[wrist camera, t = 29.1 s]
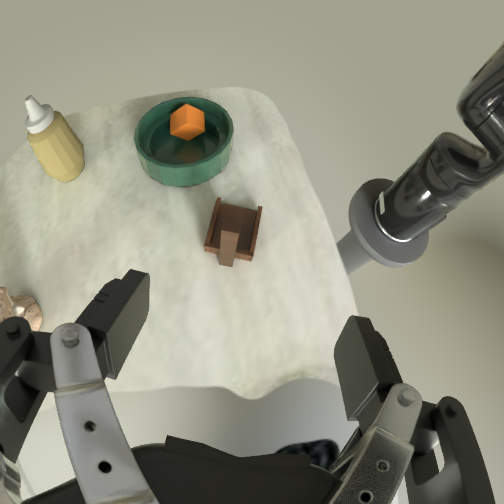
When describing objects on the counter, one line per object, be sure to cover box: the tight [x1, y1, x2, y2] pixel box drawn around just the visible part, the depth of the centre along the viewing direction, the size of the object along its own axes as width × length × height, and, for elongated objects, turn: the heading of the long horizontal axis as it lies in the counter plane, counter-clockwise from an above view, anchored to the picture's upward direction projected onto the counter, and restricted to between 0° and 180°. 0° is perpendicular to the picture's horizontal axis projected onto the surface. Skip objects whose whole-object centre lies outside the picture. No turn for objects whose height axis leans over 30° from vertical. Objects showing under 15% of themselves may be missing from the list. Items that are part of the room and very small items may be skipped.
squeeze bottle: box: [25, 95, 84, 182], centre depth 33 cm, size 8×8×18 cm
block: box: [170, 104, 205, 141], centre depth 43 cm, size 4×4×4 cm
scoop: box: [204, 197, 262, 267], centre depth 36 cm, size 9×7×12 cm
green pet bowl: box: [134, 97, 234, 187], centre depth 43 cm, size 15×15×6 cm
